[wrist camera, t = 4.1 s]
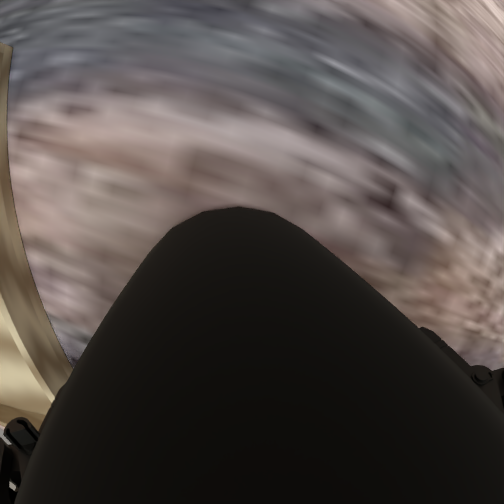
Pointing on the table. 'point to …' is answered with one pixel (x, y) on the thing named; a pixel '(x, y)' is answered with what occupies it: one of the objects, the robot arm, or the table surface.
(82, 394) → the coffee jar
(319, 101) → the table surface
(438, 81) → the table surface
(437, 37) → the table surface
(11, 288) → the bay tray
